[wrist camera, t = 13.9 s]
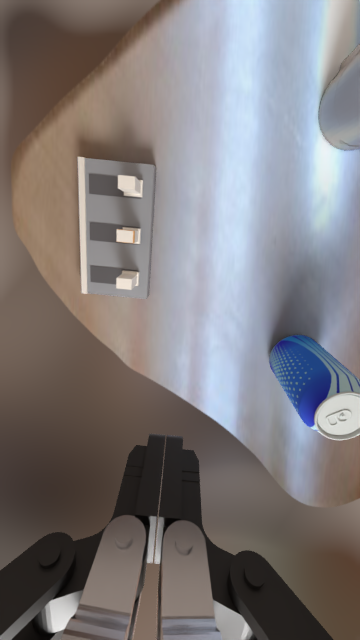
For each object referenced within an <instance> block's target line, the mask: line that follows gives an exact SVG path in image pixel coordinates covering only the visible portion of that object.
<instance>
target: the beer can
mask: <svg viewBox="0 0 360 640" xmlns="http://www.w3.org/2000/svg"><path fill="white" fill-rule="evenodd" d="M269 363H270V367H271V369H272V371H273V373H274V374H275V376H276V378H277V379H278V381H279V383H280V384H281V386H282V388H283V389H284V391H285V392H286V394H287V396H288V397H289V399H290V401H291V402H292V404H293V406H294V407H295V409H296V411H297V412H298V414H299V416H300V417H301V419H302V420H303V422H304V423H305V424H306V425H307V426H309V427H310V428H311V429H313V430H315V431H318V432H320V433H321V434H322V435H323V436H325V437H327V438H329V439H333V440H346V439H351V438H354V437H356V436H358V435H360V380H359V379H358V378H357V377H356V376H355V375H353V374H352V373H351V372H350V371H349V370H348V369H347V368H345V367H344V366H343V365H342V364H341V363H340V362H338V361H337V360H336V359H335V358H334V357H333V356H332V355H330V354H329V353H328V352H327V351H326V350H325V349H324V348H322V347H321V346H320V345H319V344H318V343H317V342H315V341H314V340H313V339H311V338H310V337H307V336H304V335H292V336H289V337H286V338H284V339H282V340H281V341H279V342H278V343H277V344H276V345H275V346H274V348H273V349H272V351H271V354H270V358H269Z"/></svg>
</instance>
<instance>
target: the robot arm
mask: <svg viewBox="0 0 360 640" xmlns="http://www.w3.org/2000/svg"><path fill="white" fill-rule="evenodd" d="M319 124H320V128H321V131H322V134H323V136H324V137H325V139H326V140H327V141H328V142H329V143H330V144H331V145H332V146H334V147H336V148H338V149H341V150H355V149H359V148H360V44H359V45H358V46H357V47H356V48H355V49H354V50H353V51H352V53H351V54H350V55H349V56H348V57H347V58H346V59H345V60H344V61H343V62H342V64H341V68H340V71H339V73H338V75H337V76H336V77H335V78H334V79H333V80H332V81H331V83H330V84H329V86H328V87H327V89H326V90H325V92H324V95H323V97H322V100H321V104H320V108H319ZM164 445H165V435H159V434H149V439H148V445H147V446H140V445H136V446H135V447H134V449H133V450H132V451H131V452H130V454H129V456H128V460H127V464H126V468H125V472H124V476H123V479H122V483H121V487H120V491H119V495H118V499H117V503H116V507H115V510H114V514H113V517H112V519H111V521H110V522H109V524H108V525H107V526H106V527H105V528H104V529H103V530H102V531H100V532H99V533H97V534H95V535H93V536H90V537H87V538H84V539H80V540H76V541H73V540H72V538H71V537H70V536H69V535H67V534H65V533H62V532H55V533H51V534H48V535H46V536H44V537H43V538H41V539H40V540H38V541H37V542H36V543H35V544H33V545H32V546H31V547H30V548H28V549H27V550H26V551H25V552H23V553H22V554H21V555H20V556H19V557H17V558H16V559H14V560H13V561H12V562H11V563H9V564H8V565H7V566H6V567H4V568H3V569H2V570H1V571H0V640H60V639H61V640H133V636H134V630H135V625H136V620H137V614H138V609H139V604H140V597H141V592H142V589H143V586H144V581H145V573H146V564H147V563H152V562H153V553H154V543H155V533H156V523H157V514H158V504H159V495H160V485H161V476H162V475H161V474H162V466H163V455H164ZM182 445H183V438H182V437H181V436H171V435H167V439H166V449H165V460H164V469H163V479H162V490H161V501H160V510H159V521H158V531H157V541H156V552H155V563H158V564H160V570H159V581H158V591H157V625H156V640H333V639H332V637H331V636H330V635H329V634H328V633H327V631H326V630H325V629H324V628H323V627H322V626H321V624H320V623H319V622H318V621H317V620H316V618H315V617H314V616H313V615H312V614H311V613H310V611H309V610H308V609H307V608H306V607H305V605H304V604H303V603H302V602H301V601H300V600H299V598H298V597H297V596H296V595H295V594H294V592H293V591H292V590H291V589H290V588H289V587H288V585H287V584H286V583H285V582H284V581H283V579H282V578H281V577H280V576H279V575H278V574H277V572H276V571H275V570H274V569H273V568H272V567H271V565H270V564H269V563H268V562H267V561H266V560H265V559H264V558H263V557H262V556H261V555H259V554H257V553H255V552H252V551H241V552H239V553H238V554H236V555H233V554H231V553H228V552H226V551H224V550H222V549H220V548H218V547H217V546H216V545H214V544H213V543H212V542H211V541H210V540H209V538H208V537H207V535H206V534H205V532H204V529H203V526H202V517H201V497H200V479H199V478H200V477H199V460H198V458H197V456H196V454H195V452H194V451H193V450H183V449H182Z"/></svg>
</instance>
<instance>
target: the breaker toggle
mask: <svg viewBox="0 0 360 640" xmlns="http://www.w3.org/2000/svg"><path fill="white" fill-rule="evenodd" d="M140 241H141V229H138V228H128V227H123V229H117V239H116V242H124V243H134V244H140Z"/></svg>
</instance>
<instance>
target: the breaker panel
mask: <svg viewBox="0 0 360 640" xmlns="http://www.w3.org/2000/svg"><path fill="white" fill-rule="evenodd" d="M77 166H78V201H79V236H80V271H81V293H85V294H87V293H90V294H100V295H110V296H121V297H131V298H141V299H147V298H148V296H149V288H150V270H151V253H152V235H153V217H154V200H155V182H156V168H155V166H154V165H150V164H140V163H130V162H120V161H111V160H101V159H91V158H84V157H77ZM123 227H128V228H138V229H141V241H140V244H134V243H124V242H116V239H117V229H123Z"/></svg>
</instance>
